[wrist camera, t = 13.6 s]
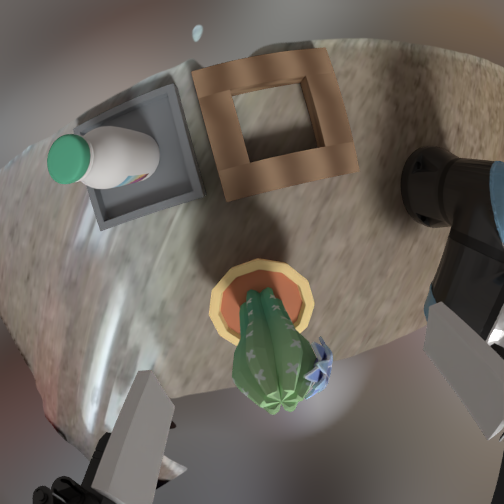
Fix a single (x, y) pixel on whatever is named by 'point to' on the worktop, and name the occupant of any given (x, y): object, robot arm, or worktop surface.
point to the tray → (170, 164)
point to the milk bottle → (103, 157)
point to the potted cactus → (270, 333)
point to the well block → (262, 77)
